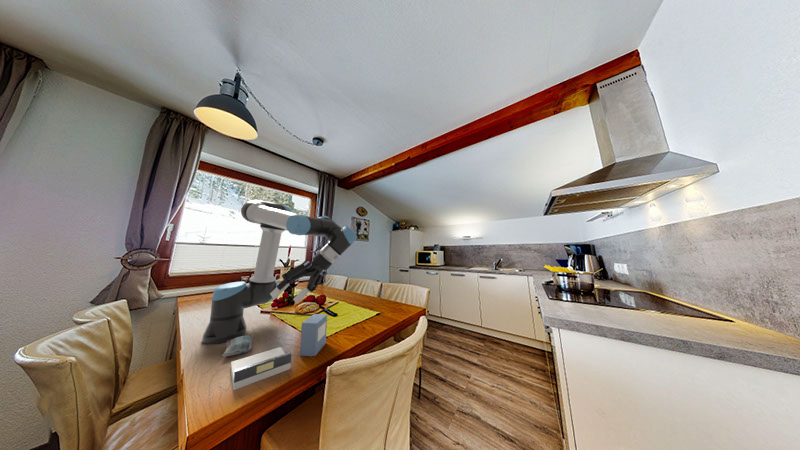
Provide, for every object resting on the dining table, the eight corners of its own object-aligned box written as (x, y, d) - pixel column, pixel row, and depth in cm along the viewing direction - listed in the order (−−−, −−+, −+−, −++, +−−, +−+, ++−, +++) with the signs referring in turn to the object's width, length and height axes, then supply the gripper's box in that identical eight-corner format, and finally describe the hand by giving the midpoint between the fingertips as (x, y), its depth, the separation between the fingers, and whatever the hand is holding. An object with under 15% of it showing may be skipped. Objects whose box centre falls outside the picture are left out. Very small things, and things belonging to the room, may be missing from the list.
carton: (299, 355, 75) (301, 323, 77) (312, 342, 85) (313, 314, 87) (315, 356, 75) (317, 323, 76) (326, 343, 85) (327, 314, 86)
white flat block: (230, 368, 67) (232, 352, 68) (280, 352, 77) (281, 338, 78) (233, 391, 57) (235, 372, 57) (290, 369, 67) (291, 353, 67)
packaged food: (221, 362, 71) (222, 347, 71) (225, 348, 80) (226, 335, 81) (251, 355, 76) (252, 341, 76) (251, 342, 85) (252, 330, 86)
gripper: (316, 252, 69) (265, 301, 63) (343, 271, 91) (307, 309, 85) (304, 240, 72) (255, 286, 66) (333, 261, 94) (298, 297, 88)
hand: (284, 299), depth 76 cm, fingers open, 13 cm apart
